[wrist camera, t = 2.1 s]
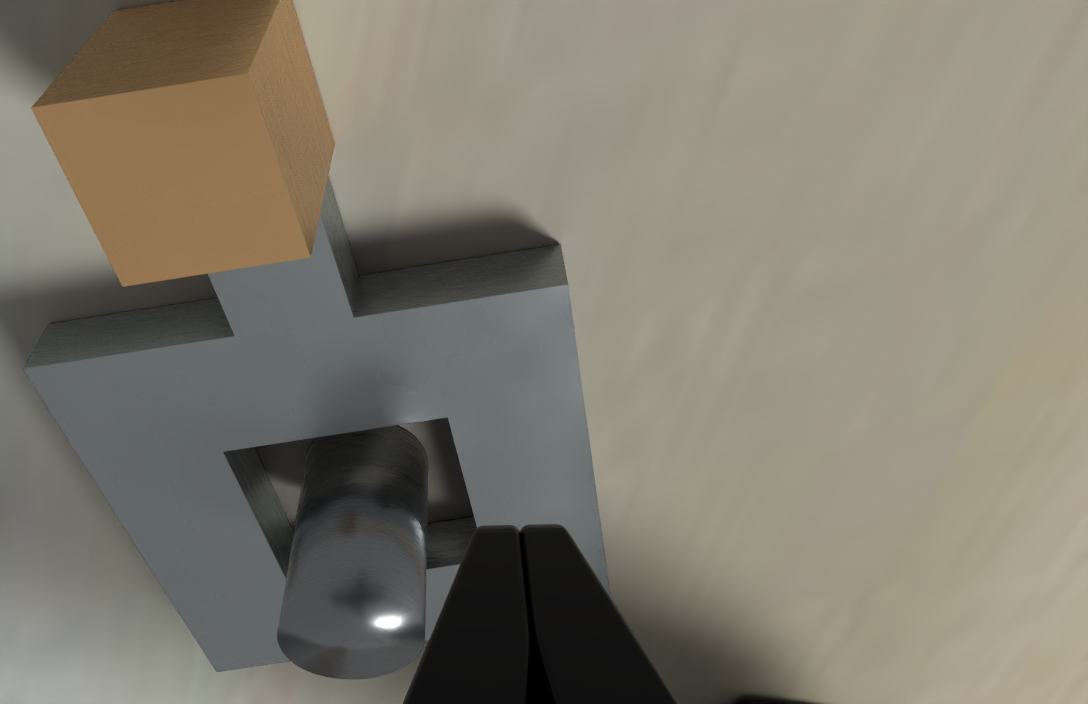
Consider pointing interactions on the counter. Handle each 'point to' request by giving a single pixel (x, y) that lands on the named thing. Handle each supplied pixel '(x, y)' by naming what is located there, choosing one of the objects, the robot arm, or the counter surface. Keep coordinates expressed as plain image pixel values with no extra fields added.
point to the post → (358, 556)
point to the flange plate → (279, 323)
